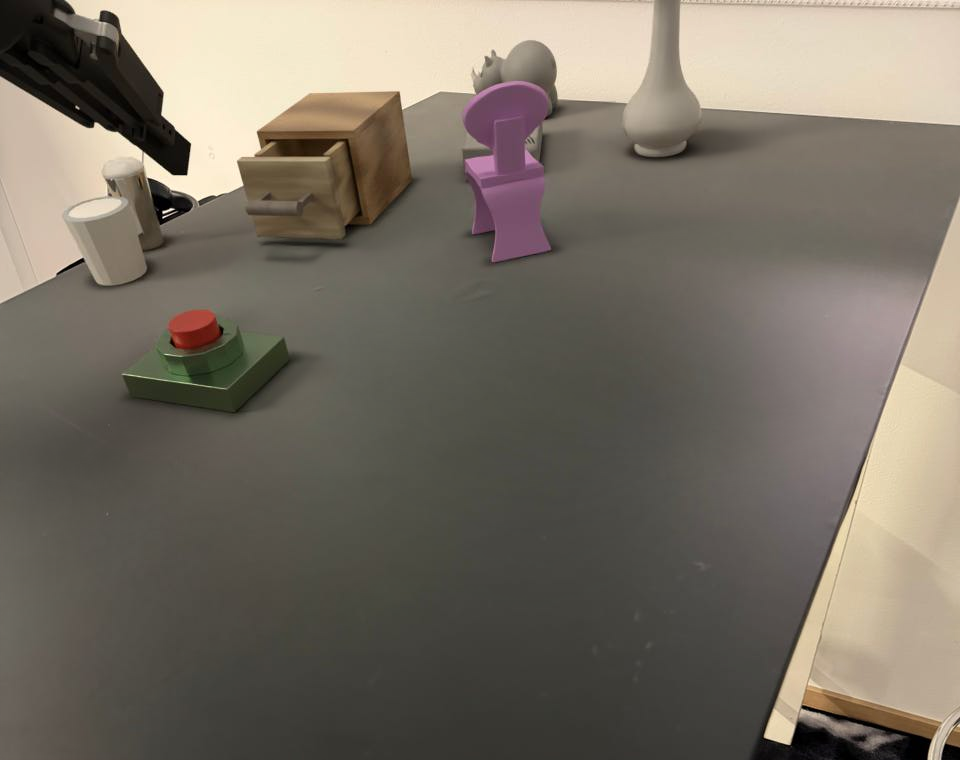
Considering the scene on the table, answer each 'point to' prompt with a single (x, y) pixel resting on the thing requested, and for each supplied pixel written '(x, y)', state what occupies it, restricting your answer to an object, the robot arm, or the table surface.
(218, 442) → the table surface
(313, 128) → the cabinet
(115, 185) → the milkshake
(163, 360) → the button block
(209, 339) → the button
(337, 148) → the drawer
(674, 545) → the table surface
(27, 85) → the robot arm
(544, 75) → the toy rhinoceros
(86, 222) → the white cup
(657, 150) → the flower vase
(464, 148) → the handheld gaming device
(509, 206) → the toy chair
